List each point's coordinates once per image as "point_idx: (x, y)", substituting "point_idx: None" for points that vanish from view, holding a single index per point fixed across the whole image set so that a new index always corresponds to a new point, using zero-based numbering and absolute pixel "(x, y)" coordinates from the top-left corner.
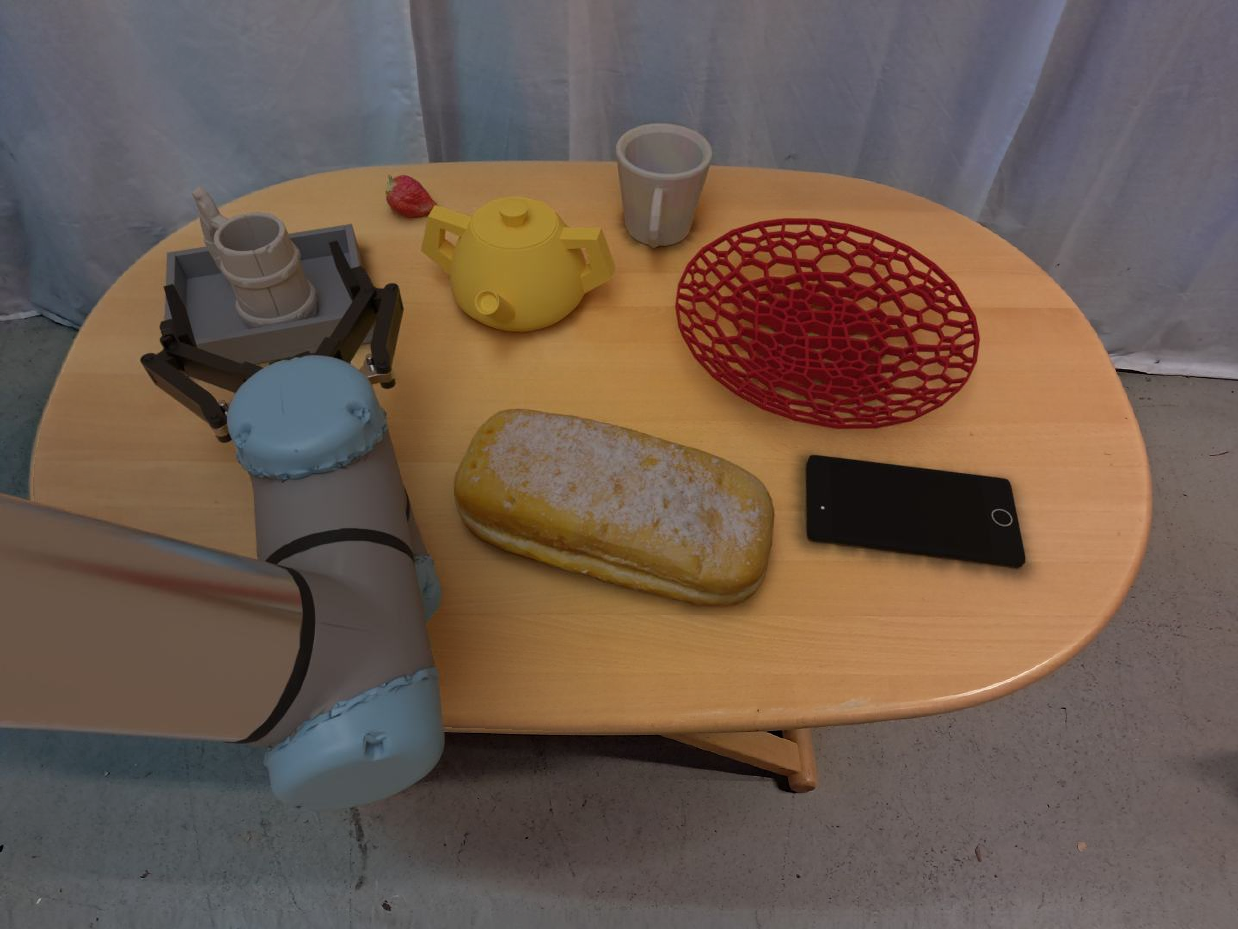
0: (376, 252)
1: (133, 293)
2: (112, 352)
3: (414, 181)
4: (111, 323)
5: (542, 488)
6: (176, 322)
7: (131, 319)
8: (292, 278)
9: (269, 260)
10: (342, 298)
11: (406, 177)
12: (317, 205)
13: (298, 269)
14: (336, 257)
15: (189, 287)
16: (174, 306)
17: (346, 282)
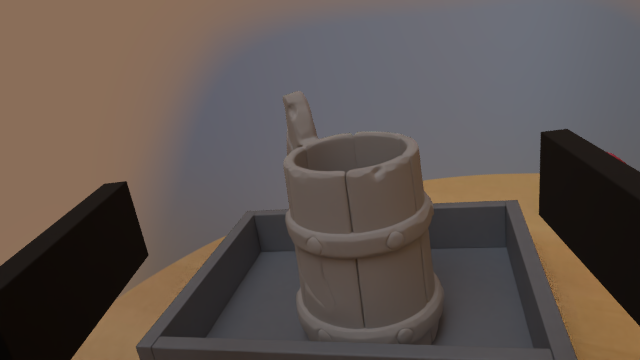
0: (547, 255)
1: (196, 261)
2: (112, 333)
3: (620, 159)
4: (146, 293)
5: None
6: (13, 260)
7: (170, 292)
8: (408, 251)
9: (371, 198)
10: (490, 318)
11: (607, 152)
12: (453, 195)
13: (423, 237)
14: (577, 155)
15: (257, 262)
16: (67, 221)
17: (635, 226)
